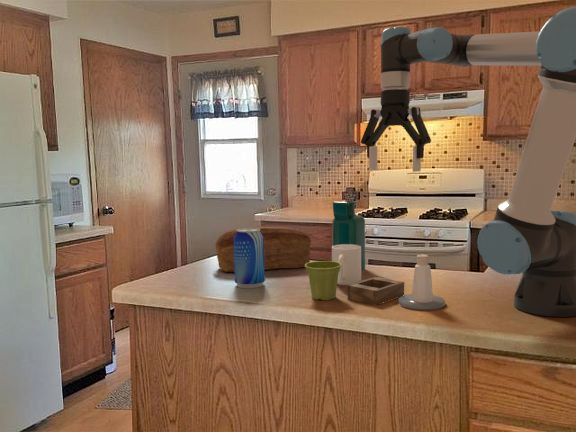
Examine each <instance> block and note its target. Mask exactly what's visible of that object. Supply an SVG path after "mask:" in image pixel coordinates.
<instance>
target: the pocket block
mask: <svg viewBox="0 0 576 432" xmlns="http://www.w3.org/2000/svg"><path fill="white" fill-rule="evenodd" d="M403 295H405V281H400V280H396V279H389V278H384V277H379V276H373V277H370V278H366V279H364V280H361V281H360V282H357V283H353V284H350V285H347V300H351V299H352V300H351V301H357V302H360V301H361V303H366V304H369V303H370V304H371V305H374V304H375V306H379V305H382V304H383V302H384V303H387V302H389V301H388V300H390V301H392V300H391V299H393V300H395V299H397V297H398V298H399V297H400V296H403ZM394 298H395V299H394ZM386 301H387V302H386ZM378 304H379V305H378Z"/></svg>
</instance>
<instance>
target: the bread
mask: <svg viewBox="0 0 576 432" xmlns="http://www.w3.org/2000/svg"><path fill="white" fill-rule="evenodd" d="M251 228H258V229H260V232H261V234H262V235H263V237H264V268H265V270H274V269H288V268H290V269H291V268H293V269H294V268H303V267H304V268H305V264H306V263H309V262H311V243H312V239H311V236H310V235H309V234H308V233H307V232H305V231H303V230H302V229H300V228H295V227H287V226H268V225H264V226H263V225H260V226H252V227H251ZM236 233H237V229H232V230H229V231H226V232H224V233H222V234H221V235H220V236H219V238H218V239H217V240H216V242H215V249H216V257H217V261H218V267H219V269H220V270H221V271H223V272H225V273H227V272H228V273H235V265H234V236H235V235H236Z"/></svg>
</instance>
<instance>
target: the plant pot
mask: <svg viewBox="0 0 576 432" xmlns="http://www.w3.org/2000/svg"><path fill="white" fill-rule="evenodd" d="M341 266H342V264H341V263H339V262H334V261H332V260H316V261H315V260H314V261H310V262H309V263H306V264H305V266H304V268H305V269H306V272H307V274H308V281H309V287H310V294H311V298H312V299H314V300H321V301H329V300H333V299H335V298H336V296H337V287H338V284H337V281H338V273H339V271H340V267H341Z"/></svg>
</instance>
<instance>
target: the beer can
mask: <svg viewBox="0 0 576 432" xmlns="http://www.w3.org/2000/svg"><path fill="white" fill-rule="evenodd" d="M236 230H237V233H236V235H235V236H234V265H235V272H234V282H235V284H236V285H237V287H238V288H241V289H250V290H251V289H257V288H261V287H262V286H263V284H264V283H265V281H266V278H265V277H266V276H265V274H266V273H265V268H264V237H263V235H262V234H261V232H260V229H258V228H252V227H243V228H238V229H236Z"/></svg>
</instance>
